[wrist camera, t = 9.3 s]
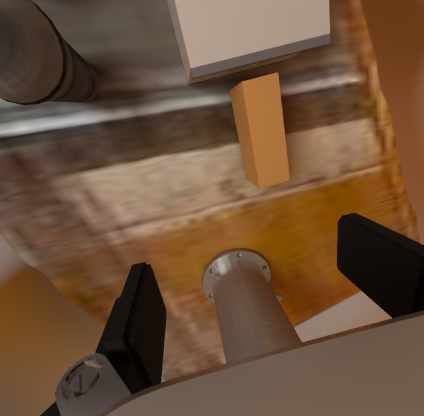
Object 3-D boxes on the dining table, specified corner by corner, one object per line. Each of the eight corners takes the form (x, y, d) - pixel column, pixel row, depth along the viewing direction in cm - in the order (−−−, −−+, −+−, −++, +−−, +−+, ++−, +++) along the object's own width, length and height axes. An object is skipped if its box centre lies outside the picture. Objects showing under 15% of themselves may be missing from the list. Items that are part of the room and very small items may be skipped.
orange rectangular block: (258, 83, 28) (278, 72, 23) (271, 171, 33) (290, 180, 27) (229, 90, 28) (241, 81, 23) (246, 178, 33) (259, 188, 27)
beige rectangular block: (278, -65, 24) (324, -154, 17) (290, 65, 29) (330, 42, 21) (157, -37, 24) (146, -116, 16) (189, 91, 28) (193, 77, 21)
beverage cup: (34, 54, 25) (-387, -159, 6) (96, 39, 25) (-136, -206, 7) (64, 120, 28) (-170, 104, 9) (120, 106, 28) (2, 62, 9)
